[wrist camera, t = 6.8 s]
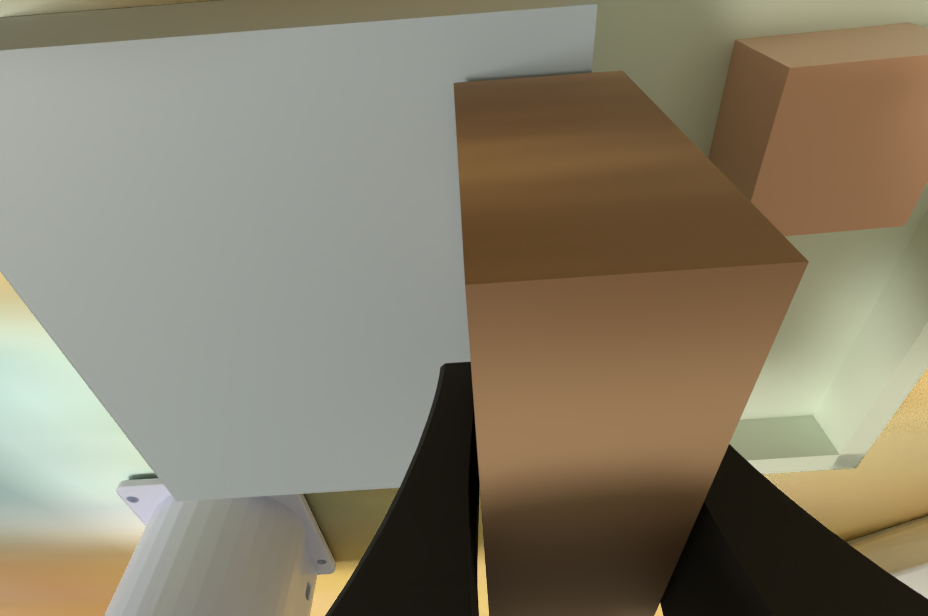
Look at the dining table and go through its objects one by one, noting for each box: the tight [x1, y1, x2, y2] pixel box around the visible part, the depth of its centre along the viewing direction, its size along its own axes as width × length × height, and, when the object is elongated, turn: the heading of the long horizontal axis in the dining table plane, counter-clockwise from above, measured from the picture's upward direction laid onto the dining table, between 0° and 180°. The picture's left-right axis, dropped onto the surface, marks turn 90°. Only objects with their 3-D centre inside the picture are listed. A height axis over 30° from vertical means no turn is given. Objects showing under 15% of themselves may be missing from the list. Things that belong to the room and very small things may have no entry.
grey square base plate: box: [0, 0, 598, 502], centre depth 15 cm, size 14×13×4 cm
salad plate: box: [847, 516, 928, 599], centre depth 32 cm, size 21×21×3 cm
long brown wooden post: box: [453, 71, 809, 616], centre depth 11 cm, size 12×3×6 cm, turn 3°
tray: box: [592, 0, 928, 474], centre depth 15 cm, size 20×12×2 cm, turn 4°
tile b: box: [708, 23, 928, 236], centre depth 12 cm, size 4×4×2 cm
